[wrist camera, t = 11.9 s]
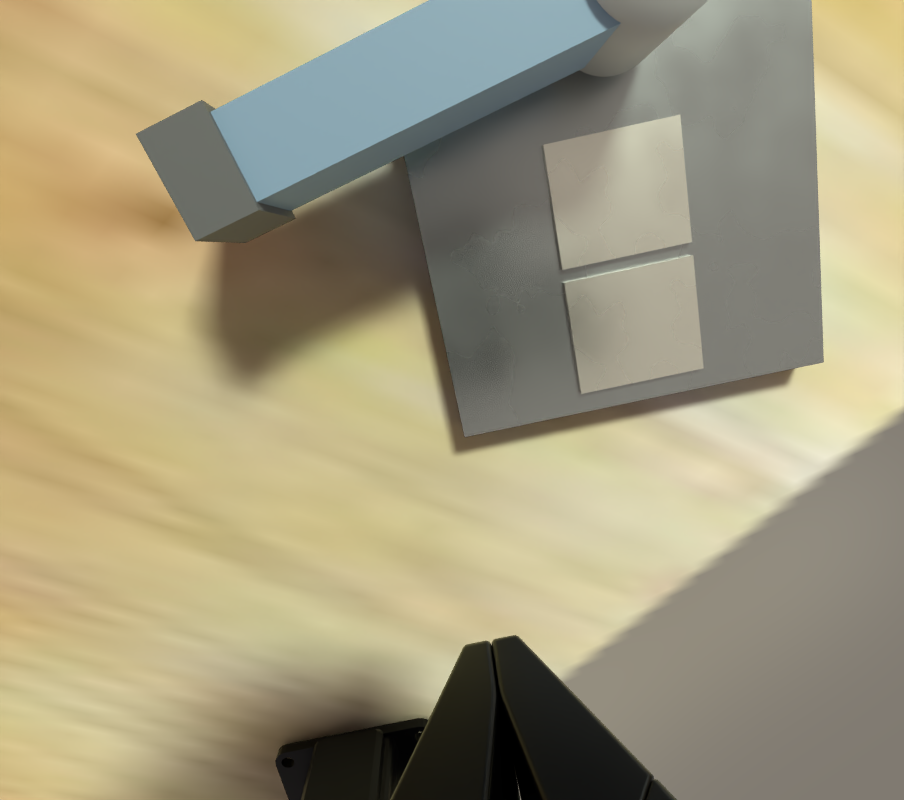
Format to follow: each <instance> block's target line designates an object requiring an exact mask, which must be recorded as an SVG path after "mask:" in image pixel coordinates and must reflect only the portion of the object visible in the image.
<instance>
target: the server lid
mask: <svg viewBox="0 0 904 800" xmlns="http://www.w3.org/2000/svg"><path fill="white" fill-rule="evenodd" d="M404 158H405V162H406V167H407V172H408V176H409V181H410V186H411V190H412V195H413V199H414V204H415V209H416V213H417V218H418V223H419V227H420V232H421V237H422V241H423V246H424V251H425V255H426V260H427V265H428V269H429V274H430V279H431V283H432V288H433V293H434V297H435V302H436V306H437V311H438V316H439V320H440V325H441V330H442V334H443V339H444V344H445V348H446V353H447V358H448V362H449V367H450V372H451V376H452V381H453V386H454V390H455V395H456V400H457V404H458V409H459V413H460V418H461V423H462V427H463V432H464V437H468V436H472V435H477V434H482V433H487V432H492V431H496V430H501V429H506V428H511V427H516V426H520V425H525V424H530V423H535V422H540V421H544V420H549V419H554V418H559V417H564V416H568V415H573V414H578V413H583V412H588V411H592V410H597V409H602V408H607V407H612V406H616V405H621V404H626V403H631V402H635V401H640V400H645V399H650V398H655V397H659V396H664V395H669V394H674V393H679V392H683V391H688V390H693V389H698V388H703V387H707V386H712V385H717V384H722V383H727V382H731V381H736V380H741V379H746V378H751V377H755V376H760V375H765V374H770V373H775V372H779V371H784V370H789V369H794V368H798V367H803V366H808V365H813V364H818V363H822V362H824V359H823V329H822V300H821V270H820V240H819V210H818V181H817V151H816V121H815V91H814V62H813V32H812V2H811V0H708V1H707V2H706V3H705V4H704V5H703V6H702V7H701V8H699V9H698V10H697V11H696V12H695V13H694V14H693V15H692V16H691V17H690V18H688V19H687V20H686V21H685V22H684V23H683V24H682V25H681V26H680V27H679V28H678V29H676V30H675V31H674V32H673V33H672V34H671V35H670V36H669V37H668V38H667V39H665V40H664V41H663V42H662V43H661V44H660V45H659V46H658V47H657V48H656V49H654V50H653V51H652V52H651V53H650V54H649V55H648V56H647V57H646V58H645V59H643V60H642V61H641V62H640V63H639V64H638V65H636V66H635V67H634V68H632V69H630V70H628V71H627V72H624V73H622V74H619V75H615V76H609V77H598V76H593V75H589V74H586V73H584V72H582V71H580V70H579V71H577V72H575V73H573V74H570V75H568V76H566V77H564V78H562V79H560V80H558V81H556V82H554V83H552V84H550V85H548V86H546V87H544V88H542V89H540V90H538V91H536V92H534V93H531V94H529V95H527V96H525V97H523V98H521V99H519V100H517V101H515V102H513V103H511V104H509V105H507V106H505V107H503V108H501V109H499V110H497V111H495V112H493V113H490V114H488V115H486V116H484V117H482V118H480V119H478V120H476V121H474V122H472V123H470V124H468V125H466V126H464V127H462V128H460V129H458V130H456V131H454V132H451V133H449V134H447V135H445V136H443V137H441V138H439V139H437V140H435V141H433V142H431V143H429V144H427V145H425V146H423V147H421V148H419V149H417V150H415V151H413V152H410V153H408V154H406V155H404Z"/></svg>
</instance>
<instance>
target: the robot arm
mask: <svg viewBox="0 0 904 800" xmlns="http://www.w3.org/2000/svg"><path fill="white" fill-rule="evenodd" d="M419 731H423V733H418V732H419ZM288 758H291V759H288ZM276 767H277V769H278V772H279V775H280V777H281V780H282V783H283V785H284V788H285V791H286V794H287V796H288V799H289V800H520V796H521V800H677V799H676V798H675V797H674V796H673V795H672V794H671V793H670V792H669V791H668V790H667V789H666V788H665V787H664V786H663V785H662V784H661V783H660V782H659V781H658V780H656V779H655V780H654V776H653V775H652V774H651V773H650V772H649V771H648V770H647V769H646V768H645V767H644V766H643V764H642V763H641V762H639V760H637V758H636V757H635V756H634V755H633V754H632V753H631V752H630V751H629V750H628V749H627V748H626V747H625V746H624V745H623V744H622V743H621V742H620V741H619V740H618V739H617V738H616V737H615V736H614V735H613V734H612V732H610V731H609V729H608V728H607V727H606V726H604V724H603V723H602V722H601V721H600V720H599V719H598V718H597V717H596V716H595V715H594V714H593V713H592V712H591V711H590V710H589V709H588V708H587V707H586V706H585V705H584V704H583V703H582V702H581V700H580V699H579V698H577V696H576V695H575V694H574V693H573V692H572V691H571V690H570V689H569V688H568V687H567V686H566V685H565V684H564V683H563V682H562V681H561V680H560V679H559V678H558V677H557V676H556V675H555V674H554V673H553V672H552V671H551V670H550V669H549V667H548V666H547V665H546V664H545V663H544V662H543V661H542V660H541V659H540V658H539V657H538V656H537V655H536V654H535V653H534V652H533V651H532V650H531V649H530V648H529V647H528V646H527V645H526V644H525V643H524V642H523V641H522V640H521V639H520V638H519V637H518V636H516V635H513V636H508V637H503V638H498V639H494V640H493V641H492V645H491V643H490V642H489V641H482V642H477V643H472V644H468V645H465V646H464V647H463V649H462V651H461V654H460V656H459V658H458V660H457V662H456V664H455V666H454V668H453V670H452V672H451V674H450V676H449V679H448V681H447V683H446V685H445V687H444V689H443V691H442V693H441V695H440V697H439V699H438V702H437V704H436V706H435V708H434V710H433V712H432V714H431V716H430V718H429V720H427V719H424V718H421V719H414V720H409V721H404V722H399V723H393V724H388V725H383V726H378V727H373V728H368V729H363V730H358V731H353V732H348V733H343V734H337V735H332V736H327V737H322V738H317V739H312V740H307V741H302V742H297V743H292V744H287V745H284V746H282V747H281V748H280V749H279V752H278V755H277V758H276ZM516 776H517V777H516ZM517 781H518V783H517ZM518 786H519V789H518ZM519 791H520V796H519Z"/></svg>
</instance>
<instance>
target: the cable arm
mask: <svg viewBox="0 0 904 800" xmlns="http://www.w3.org/2000/svg"><path fill="white" fill-rule="evenodd" d="M707 1H708V0H429V1H427V2H425V3H423V4H421V5H419V6H417V7H415V8H413V9H411V10H409V11H407V12H405V13H403V14H401V15H399V16H397V17H396V18H394V19H392V20H390V21H388V22H386V23H384V24H382V25H380V26H378V27H376V28H374V29H372V30H370V31H368V32H366V33H364V34H362V35H360V36H358V37H356V38H354V39H352V40H350V41H348V42H346V43H345V44H343V45H341V46H339V47H337V48H335V49H333V50H331V51H329V52H327V53H325V54H323V55H321V56H319V57H317V58H315V59H313V60H311V61H309V62H307V63H305V64H303V65H301V66H299V67H297V68H296V69H294V70H292V71H290V72H288V73H286V74H284V75H282V76H280V77H278V78H276V79H274V80H272V81H270V82H268V83H266V84H264V85H262V86H260V87H258V88H256V89H254V90H252V91H250V92H248V93H247V94H245V95H243V96H241V97H239V98H237V99H235V100H233V101H231V102H229V103H227V104H225V105H223V106H221V107H219V108H217V109H215V108H213V107H212V106H210V105H209V104H207V103H206V102H204V101H202V100H201V101H199V102H197V103H195V104H193V105H191V106H189V107H187V108H185V109H183V110H181V111H179V112H178V113H176V114H174V115H172V116H170V117H168V118H166V119H164V120H162V121H160V122H158V123H156V124H154V125H152V126H150V127H148V128H146V129H144V130H142V131H140V132H139V133H137V134H136V135H137V137H138V139H139V141H140V142H141V144H142V146H143V148H144V150H145V151H146V153H147V155H148V157H149V159H150V160H151V162H152V164H153V166H154V168H155V169H156V171H157V173H158V175H159V177H160V178H161V180H162V182H163V184H164V186H165V187H166V189H167V191H168V193H169V195H170V196H171V198H172V200H173V202H174V204H175V205H176V207H177V209H178V211H179V213H180V214H181V216H182V218H183V220H184V222H185V223H186V225H187V227H188V229H189V231H190V232H191V234H192V236H193V238H194V240H195V241H206V242H234V243H246V242H248V241H250V240H252V239H254V238H256V237H258V236H260V235H263V234H265V233H267V232H269V231H271V230H273V229H275V228H277V227H279V226H281V225H283V224H285V223H287V222H289V221H291V220H293V219H295V216H294V214H293V212H292V210H294V209H296V208H298V207H300V206H302V205H304V204H306V203H308V202H310V201H312V200H314V199H316V198H318V197H320V196H322V195H324V194H326V193H328V192H330V191H333V190H335V189H337V188H339V187H341V186H343V185H345V184H347V183H349V182H351V181H353V180H355V179H357V178H359V177H361V176H363V175H365V174H367V173H369V172H372V171H374V170H376V169H378V168H380V167H382V166H384V165H386V164H388V163H390V162H392V161H394V160H396V159H398V158H400V157H402V156H404V155H406V154H408V153H410V152H413V151H415V150H417V149H419V148H421V147H423V146H425V145H427V144H429V143H431V142H433V141H435V140H437V139H439V138H441V137H443V136H445V135H447V134H449V133H451V132H454V131H456V130H458V129H460V128H462V127H464V126H466V125H468V124H470V123H472V122H474V121H476V120H478V119H480V118H482V117H484V116H486V115H488V114H490V113H493V112H495V111H497V110H499V109H501V108H503V107H505V106H507V105H509V104H511V103H513V102H515V101H517V100H519V99H521V98H523V97H525V96H527V95H529V94H531V93H534V92H536V91H538V90H540V89H542V88H544V87H546V86H548V85H550V84H552V83H554V82H556V81H558V80H560V79H562V78H564V77H566V76H568V75H570V74H573V73H575V72H577V71H579V70H580V71H582V72H584V73H586V74H589V75H593V76H598V77H609V76H615V75H619V74H622V73H624V72H627V71H628V70H630V69H632V68H634V67H635V66H636V65H638V64H639V63H640V62H641V61H642V60H643V59H645V58H646V57H647V56H648V55H649V54H650V53H651V52H652V51H653V50H654V49H656V48H657V47H658V46H659V45H660V44H661V43H662V42H663V41H664V40H665V39H667V38H668V37H669V36H670V35H671V34H672V33H673V32H674V31H675V30H676V29H678V28H679V27H680V26H681V25H682V24H683V23H684V22H685V21H686V20H687V19H688V18H690V17H691V16H692V15H693V14H694V13H695V12H696V11H697V10H698V9H699V8H701V7H702V6H703V5H704V4H705V3H706V2H707Z"/></svg>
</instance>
